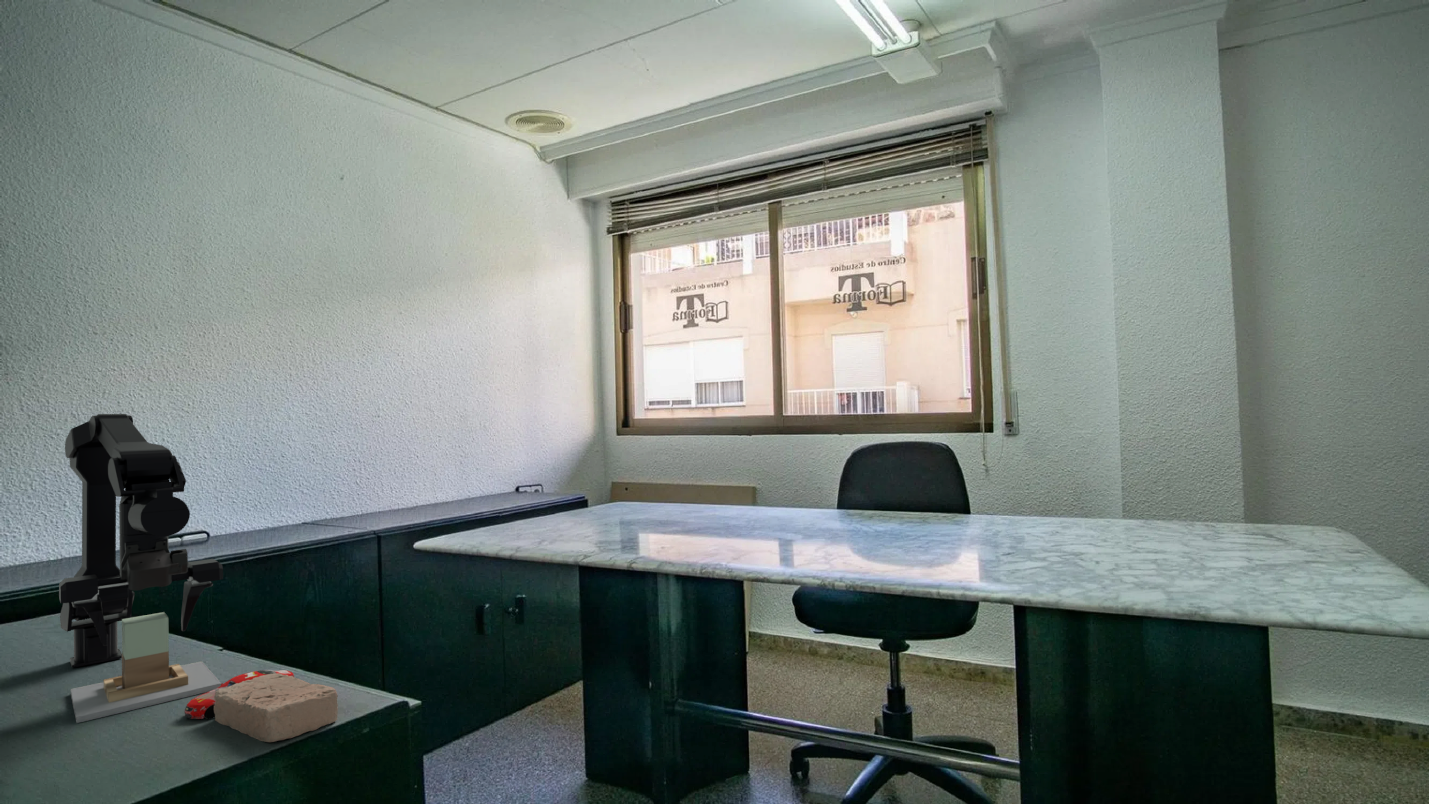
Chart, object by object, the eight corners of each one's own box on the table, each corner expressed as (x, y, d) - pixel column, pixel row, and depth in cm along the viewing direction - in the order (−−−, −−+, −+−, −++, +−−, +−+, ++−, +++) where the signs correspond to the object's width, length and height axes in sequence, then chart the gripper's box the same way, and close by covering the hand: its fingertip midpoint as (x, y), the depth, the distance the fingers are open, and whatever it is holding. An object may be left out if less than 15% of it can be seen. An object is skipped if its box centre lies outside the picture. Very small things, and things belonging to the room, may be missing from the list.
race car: (191, 727, 92) (191, 696, 92) (179, 718, 95) (178, 688, 95) (301, 694, 102) (300, 666, 102) (286, 687, 105) (286, 659, 105)
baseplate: (70, 694, 105) (70, 680, 105) (201, 665, 116) (201, 653, 116) (76, 723, 94) (76, 707, 94) (221, 688, 105) (221, 674, 105)
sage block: (122, 652, 105) (121, 619, 105) (164, 644, 109) (164, 612, 109) (125, 659, 102) (124, 624, 102) (168, 651, 105) (168, 617, 105)
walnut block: (122, 687, 105) (121, 653, 105) (164, 677, 109) (164, 644, 109) (125, 695, 101) (125, 659, 102) (169, 685, 105) (168, 651, 105)
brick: (210, 722, 93) (209, 686, 93) (278, 700, 100) (277, 667, 100) (271, 751, 84) (271, 711, 84) (341, 724, 91) (341, 687, 91)
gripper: (61, 546, 94) (62, 665, 93) (229, 528, 107) (231, 632, 106) (58, 539, 102) (59, 649, 101) (215, 523, 115) (216, 620, 114)
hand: (145, 637), depth 105 cm, fingers open, 9 cm apart
